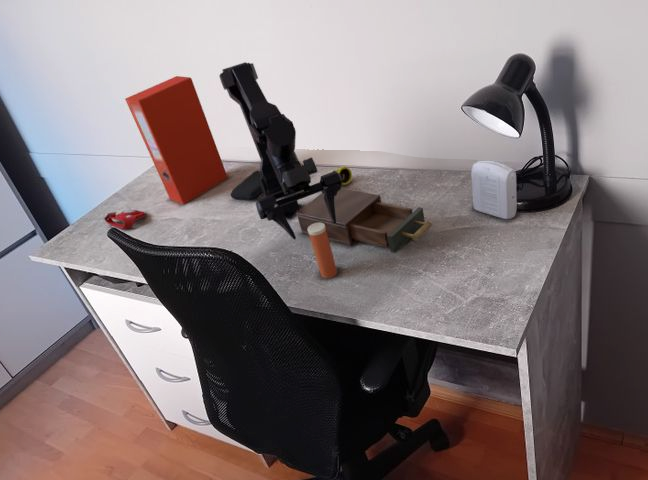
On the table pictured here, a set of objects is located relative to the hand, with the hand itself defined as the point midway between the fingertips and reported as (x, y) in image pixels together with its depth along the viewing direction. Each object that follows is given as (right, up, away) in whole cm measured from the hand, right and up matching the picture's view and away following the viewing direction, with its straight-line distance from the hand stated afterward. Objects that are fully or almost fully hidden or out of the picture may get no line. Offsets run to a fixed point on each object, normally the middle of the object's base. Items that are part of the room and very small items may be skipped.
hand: (315, 230), depth 114 cm
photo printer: (+41, +5, +11) cm, 42 cm away
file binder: (-40, +18, +56) cm, 71 cm away
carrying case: (-20, +16, +46) cm, 53 cm away
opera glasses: (+4, +15, +37) cm, 40 cm away
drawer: (+17, 0, +10) cm, 20 cm away
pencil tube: (+3, -9, +4) cm, 10 cm away
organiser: (+6, +3, +20) cm, 21 cm away
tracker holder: (-59, +6, +47) cm, 76 cm away
